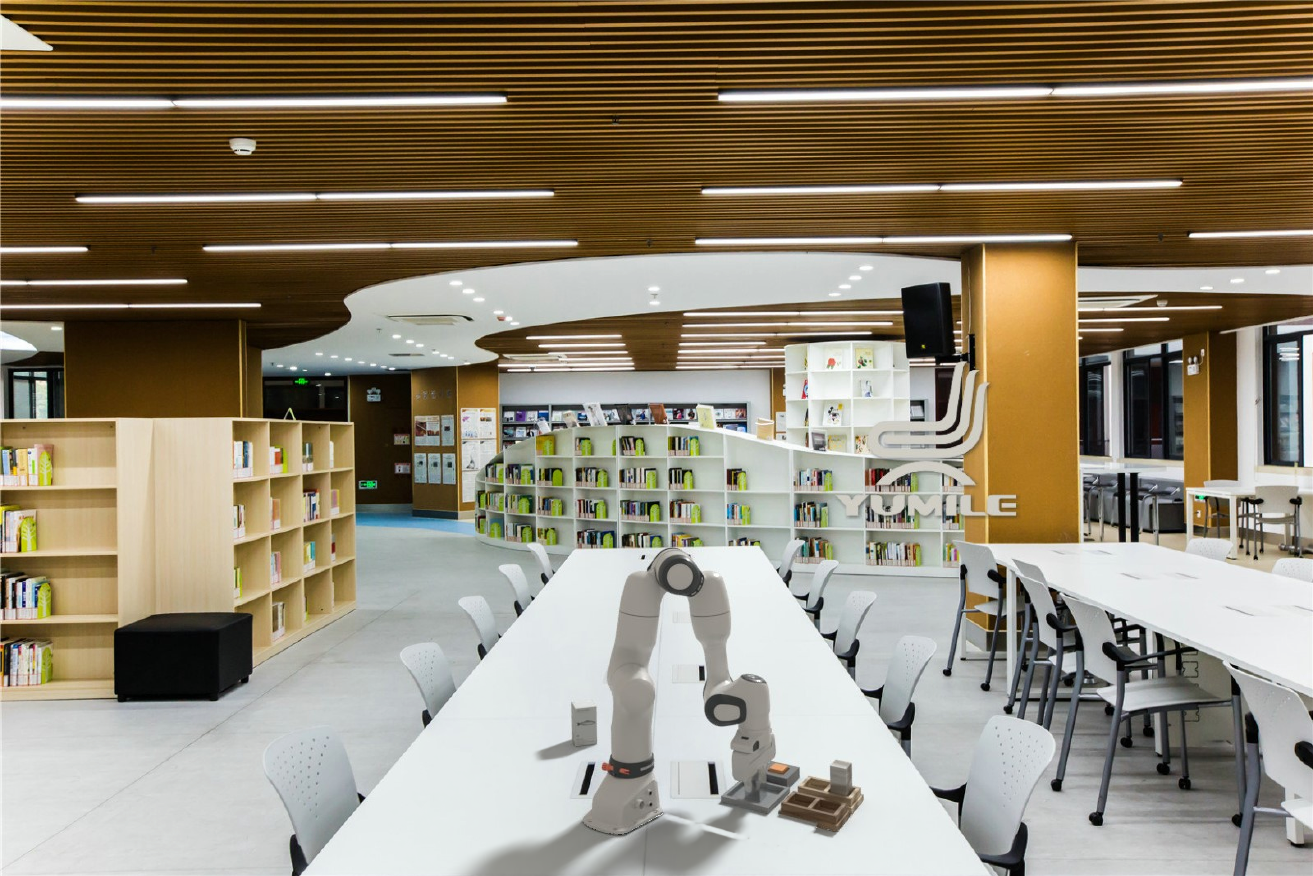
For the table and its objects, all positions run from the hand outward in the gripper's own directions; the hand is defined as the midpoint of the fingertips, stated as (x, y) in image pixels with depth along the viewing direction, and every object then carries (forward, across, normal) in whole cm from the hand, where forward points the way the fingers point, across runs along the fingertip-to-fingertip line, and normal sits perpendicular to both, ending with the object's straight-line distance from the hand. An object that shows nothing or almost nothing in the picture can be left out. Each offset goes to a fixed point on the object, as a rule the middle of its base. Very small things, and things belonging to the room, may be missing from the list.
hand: (755, 785), depth 220 cm
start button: (+2, -13, +1) cm, 13 cm away
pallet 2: (+4, +1, +17) cm, 18 cm away
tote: (+4, 0, 0) cm, 4 cm away
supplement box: (+4, -10, -67) cm, 68 cm away
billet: (+3, 0, 0) cm, 3 cm away
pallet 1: (+4, -10, +17) cm, 20 cm away
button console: (+4, -13, +1) cm, 14 cm away
